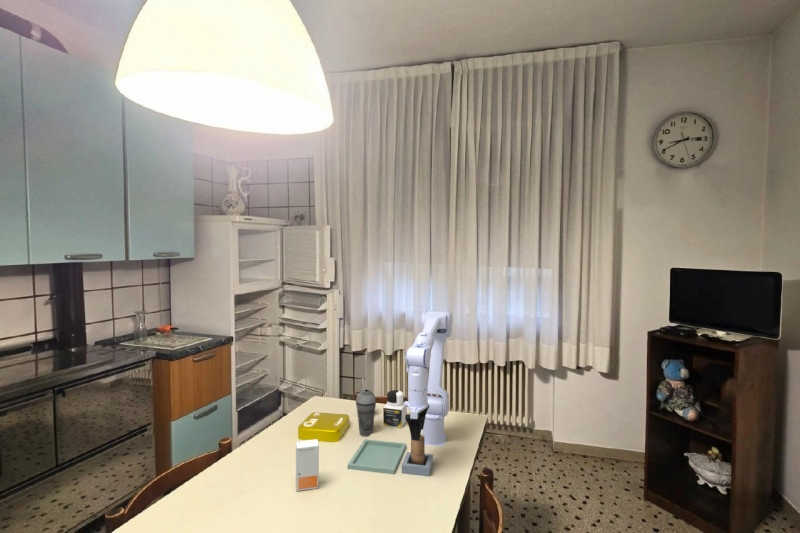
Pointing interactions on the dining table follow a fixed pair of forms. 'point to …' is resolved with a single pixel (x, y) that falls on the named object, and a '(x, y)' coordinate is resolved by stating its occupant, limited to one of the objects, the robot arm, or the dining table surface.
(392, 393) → the medicine bottle
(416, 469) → the grey square recessed block
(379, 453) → the tray
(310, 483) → the skincare box
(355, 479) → the dining table surface
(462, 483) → the dining table surface
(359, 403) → the beverage cup
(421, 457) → the dowel
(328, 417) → the element tile
